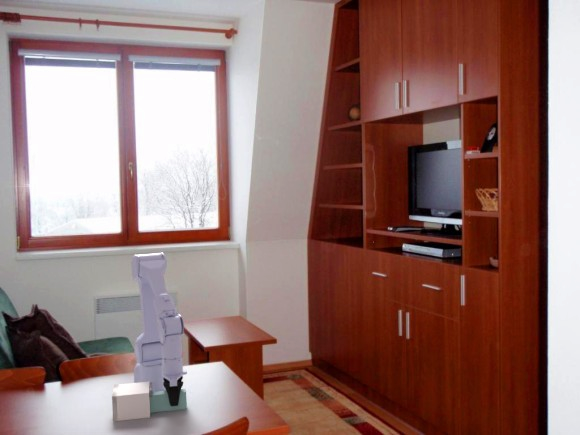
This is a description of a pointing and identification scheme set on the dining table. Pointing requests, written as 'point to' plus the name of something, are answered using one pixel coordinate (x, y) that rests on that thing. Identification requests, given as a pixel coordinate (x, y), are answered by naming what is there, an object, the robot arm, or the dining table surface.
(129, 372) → the dining table surface
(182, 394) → the mint green rectangular block
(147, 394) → the white box
